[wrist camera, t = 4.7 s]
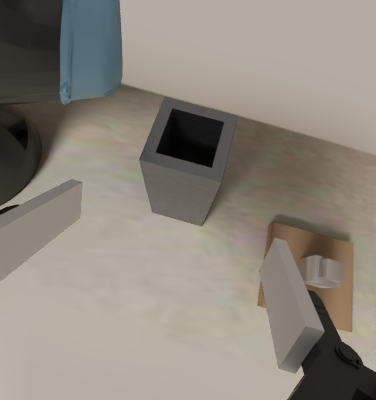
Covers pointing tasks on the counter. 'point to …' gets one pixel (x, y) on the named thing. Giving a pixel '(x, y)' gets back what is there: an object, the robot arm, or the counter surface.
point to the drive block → (320, 269)
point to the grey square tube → (186, 159)
